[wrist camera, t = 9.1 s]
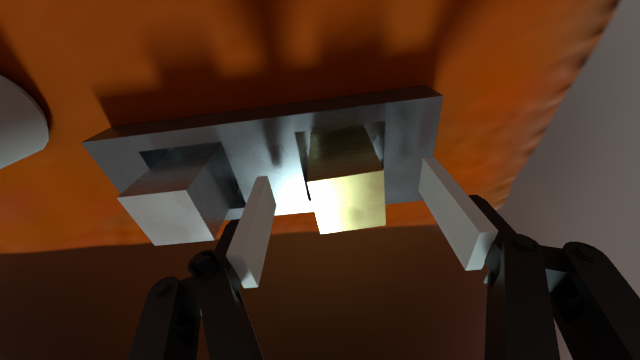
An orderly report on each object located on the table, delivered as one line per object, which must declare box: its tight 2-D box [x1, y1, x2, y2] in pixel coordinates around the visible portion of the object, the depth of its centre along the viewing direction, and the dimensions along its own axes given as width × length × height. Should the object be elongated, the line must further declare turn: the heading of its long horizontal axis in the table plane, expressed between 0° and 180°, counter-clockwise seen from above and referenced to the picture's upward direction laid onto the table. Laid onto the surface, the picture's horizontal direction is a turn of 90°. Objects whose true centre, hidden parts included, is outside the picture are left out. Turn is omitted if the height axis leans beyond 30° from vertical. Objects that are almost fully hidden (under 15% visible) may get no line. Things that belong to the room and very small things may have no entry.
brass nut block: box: [307, 125, 386, 234], centre depth 18 cm, size 4×4×7 cm
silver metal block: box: [117, 141, 239, 245], centre depth 18 cm, size 4×4×7 cm
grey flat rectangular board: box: [81, 85, 443, 220], centre depth 20 cm, size 26×9×3 cm, turn 97°
